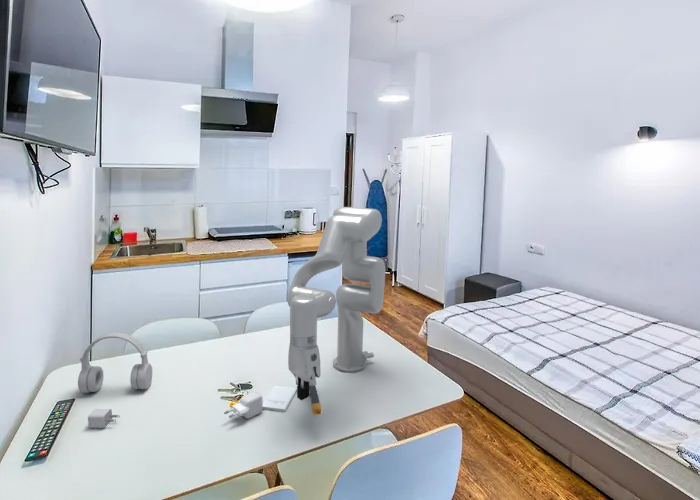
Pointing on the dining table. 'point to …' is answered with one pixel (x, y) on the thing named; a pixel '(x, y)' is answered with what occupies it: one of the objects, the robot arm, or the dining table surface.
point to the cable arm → (314, 400)
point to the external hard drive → (279, 398)
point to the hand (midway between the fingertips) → (303, 397)
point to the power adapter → (247, 406)
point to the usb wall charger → (100, 418)
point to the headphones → (93, 375)
